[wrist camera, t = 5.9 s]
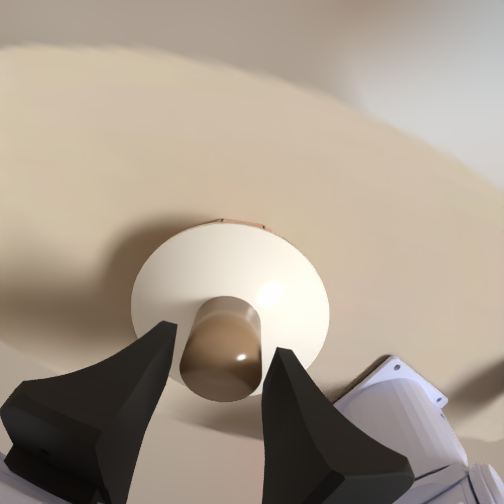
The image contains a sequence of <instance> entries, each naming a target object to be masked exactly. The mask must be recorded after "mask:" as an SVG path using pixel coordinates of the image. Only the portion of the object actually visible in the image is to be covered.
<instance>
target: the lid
mask: <svg viewBox="0 0 504 504" xmlns="http://www.w3.org/2000/svg"><path fill="white" fill-rule="evenodd" d="M131 317H132V322H133V326H134V330H135V333H136V335H137V338H138V339H139V338H140V337H142V336H143V335H144V334H146V333H147V332H148V331H150V330H151V329H152V328H153V327H154V326H156V325H157V324H158V323H159V322H161V321H162V320H164V321H167V322H171V323H175V324H178V327H177V333H176V339H175V346H174V353H173V360H172V365H171V369H170V372H169V375H168V376H169V377H171V378H172V379H174V380H175V381H177V382H179V383H181V384H182V385H184V386H186V387H188V388H189V389H190V390H191V391H193V392H194V393H195V394H197V395H199V396H201V397H203V398H205V399H208V400H212V401H217V402H232V401H237V400H241V399H243V398H246V397H247V396H254V395H259V394H262V388H263V382H264V380H265V377H266V374H267V372H268V369H269V366H270V364H271V361H272V358H273V356H274V353H275V350H276V348H277V347H280V348H286V349H291V350H292V351H293V352H294V354H295V355H296V357H297V358H298V360H299V361H300V363H301V364H302V366H303V367H304V369H305V370H306V369H307V368H308V367H309V366H310V364H311V363H312V362H313V361H314V359H315V358H316V356H317V355H318V353H319V351H320V350H321V348H322V346H323V343H324V341H325V338H326V334H327V330H328V325H329V304H328V299H327V295H326V291H325V289H324V286H323V284H322V281H321V279H320V277H319V275H318V273H317V272H316V270H315V268H314V267H313V265H312V264H311V262H310V261H309V260H308V259H307V257H306V256H305V255H304V254H303V253H302V252H301V251H300V250H299V249H298V248H297V247H296V246H295V245H293V244H292V243H290V242H289V241H288V240H286V239H285V238H283V237H281V236H279V235H278V234H276V233H274V232H272V231H269V230H267V229H264V228H261V227H259V226H255V225H250V224H246V223H238V222H213V223H207V224H201V225H198V226H195V227H192V228H188V229H186V230H184V231H182V232H180V233H178V234H176V235H174V236H173V237H171V238H170V239H168V240H167V241H165V242H164V243H163V244H162V245H161V246H160V247H159V248H157V249H156V250H155V251H154V252H153V253H152V254H151V256H150V257H149V258H148V259H147V261H146V262H145V263H144V265H143V266H142V268H141V270H140V272H139V273H138V275H137V278H136V281H135V283H134V286H133V291H132V296H131Z"/></svg>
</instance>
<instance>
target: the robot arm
mask: <svg viewBox="0 0 504 504" xmlns="http://www.w3.org/2000/svg"><path fill="white" fill-rule="evenodd" d="M177 327H178V324H175V323H171V322H167V321H164V320H162V321H161V322H159V323H158V324H157V325H156V326H154V327H153V328H152V329H151V330H150V331H148V332H147V333H146V334H144V335H143V336H142V337H140V338H139V339H138V340H136V341H135V342H133V343H132V344H131V345H129V346H128V347H126V348H124V349H123V350H121V351H120V352H118V353H116V354H115V355H113V356H111V357H109V358H107V359H105V360H103V361H101V362H99V363H97V364H95V365H92V366H89V367H87V368H84V369H81V370H78V371H75V372H72V373H68V374H65V375H60V376H56V377H51V378H45V379H38V380H30V381H23V382H22V383H21V384H20V385H19V386H18V387H17V388H16V389H15V390H14V392H13V393H12V394H11V395H10V396H9V398H8V399H7V400H6V402H5V403H4V404H3V406H2V407H1V408H0V416H1V419H2V422H3V425H4V427H5V428H6V431H7V433H8V435H9V437H10V439H11V441H12V443H13V444H14V445H13V446H12V448H11V450H10V451H9V453H8V454H7V456H6V455H4V454H3V453H1V452H0V504H126V502H127V498H128V493H129V488H130V484H131V481H132V476H133V473H134V469H135V465H136V461H137V458H138V454H139V450H140V447H141V444H142V440H143V437H144V434H145V431H146V428H147V426H148V423H149V421H150V419H151V416H152V414H153V412H154V410H155V408H156V405H157V403H158V401H159V399H160V396H161V394H162V392H163V390H164V387H165V385H166V382H167V379H168V375H169V372H170V369H171V365H172V360H173V353H174V346H175V339H176V333H177ZM396 365H397V366H396ZM395 366H396V367H395ZM447 403H448V398H447V397H446V396H445V395H444V394H442V393H441V392H440V391H439V390H437V389H436V388H435V387H434V386H433V385H431V384H430V383H429V382H428V381H426V380H425V379H424V378H423V377H421V376H420V375H419V374H418V373H417V372H415V371H414V370H413V369H412V368H410V367H409V366H408V365H407V364H405V363H404V362H403V361H402V360H400V359H399V358H398V357H397V356H391V357H389V358H388V359H387V360H385V361H384V362H383V363H382V364H381V365H380V366H379V367H378V368H377V369H375V370H374V371H373V372H372V373H371V374H370V375H369V376H367V377H366V378H365V379H364V380H363V381H362V382H360V383H359V384H358V385H357V386H356V387H355V388H353V389H352V390H351V391H350V392H348V393H347V394H346V395H345V396H343V397H342V398H341V399H340V400H338V401H337V402H336V403H335V404H333V405H332V403H331V402H330V401H329V400H328V399H327V398H326V397H325V395H324V394H323V393H322V392H321V391H320V389H319V388H318V387H317V386H316V384H315V383H314V382H313V380H312V379H311V377H310V376H309V375H308V373H307V372H306V370H305V369H304V367H303V366H302V364H301V363H300V361H299V360H298V358H297V357H296V355H295V354H294V352H293V351H292V350H291V349H286V348H280V347H277V348H276V350H275V353H274V356H273V358H272V361H271V364H270V366H269V369H268V372H267V374H266V377H265V380H264V382H263V388H262V403H261V407H262V422H263V435H264V447H265V468H264V484H263V497H262V504H504V484H503V482H502V481H501V479H500V477H499V476H498V475H497V473H496V472H495V470H494V469H493V468H492V466H491V465H489V464H481V463H475V464H474V465H473V466H471V467H468V466H467V456H466V453H465V451H464V449H463V447H462V446H461V444H460V442H459V440H458V438H457V437H456V435H455V433H454V431H453V430H452V428H451V426H450V424H449V423H448V421H447V419H446V417H445V416H444V414H443V412H442V411H441V408H443V407H444V406H445V405H446V404H447Z"/></svg>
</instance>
